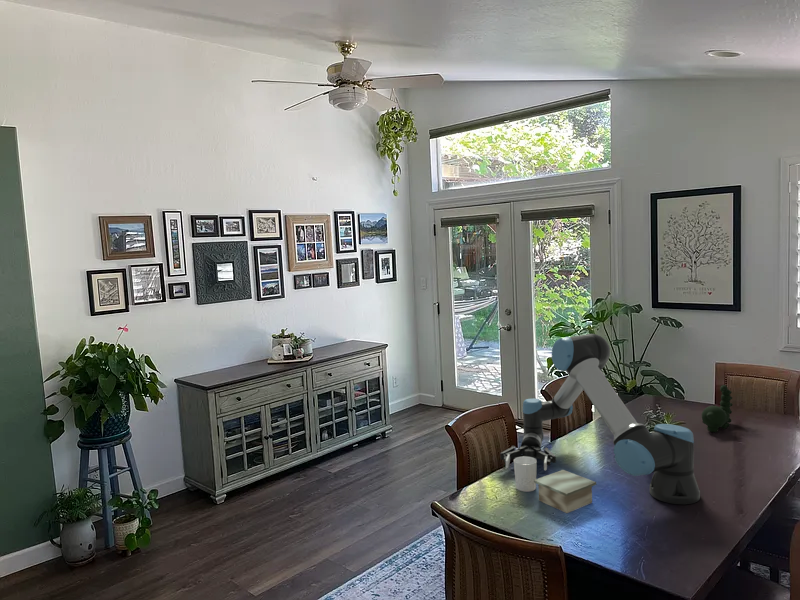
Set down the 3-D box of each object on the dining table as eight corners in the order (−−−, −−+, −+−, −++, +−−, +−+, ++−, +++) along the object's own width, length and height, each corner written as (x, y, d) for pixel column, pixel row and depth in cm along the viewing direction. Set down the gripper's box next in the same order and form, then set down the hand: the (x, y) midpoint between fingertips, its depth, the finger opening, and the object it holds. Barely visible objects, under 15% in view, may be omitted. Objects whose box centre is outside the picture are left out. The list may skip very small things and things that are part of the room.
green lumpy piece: (715, 423, 268) (695, 432, 251) (716, 382, 268) (696, 388, 250) (738, 427, 262) (719, 437, 244) (739, 385, 261) (720, 391, 244)
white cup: (539, 492, 202) (538, 464, 201) (516, 493, 202) (515, 465, 201) (534, 482, 210) (534, 455, 209) (512, 483, 210) (511, 456, 209)
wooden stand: (596, 502, 192) (596, 482, 191) (567, 515, 184) (566, 493, 183) (563, 489, 203) (563, 469, 203) (534, 500, 196) (533, 480, 195)
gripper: (564, 456, 228) (561, 477, 208) (499, 452, 235) (491, 473, 215) (563, 437, 227) (561, 457, 207) (499, 434, 235) (490, 453, 215)
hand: (525, 465), depth 211 cm, fingers open, 13 cm apart
